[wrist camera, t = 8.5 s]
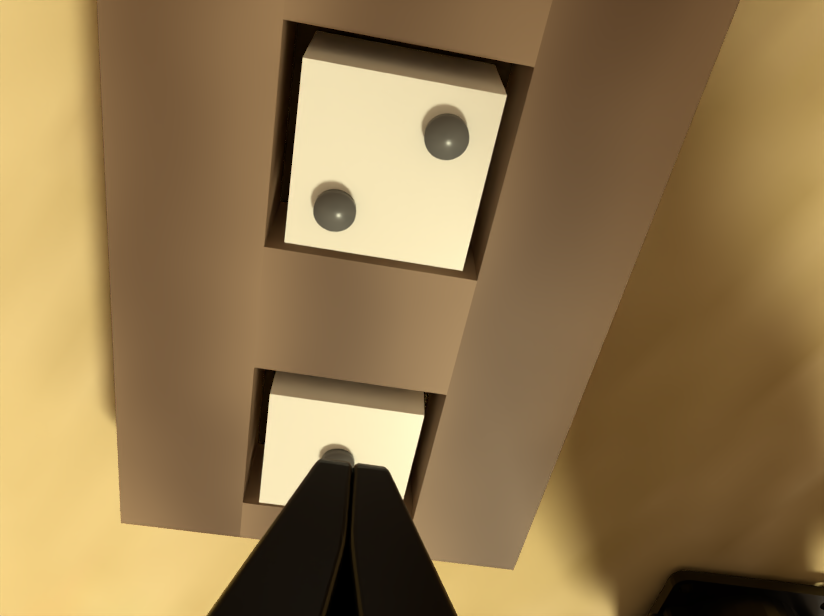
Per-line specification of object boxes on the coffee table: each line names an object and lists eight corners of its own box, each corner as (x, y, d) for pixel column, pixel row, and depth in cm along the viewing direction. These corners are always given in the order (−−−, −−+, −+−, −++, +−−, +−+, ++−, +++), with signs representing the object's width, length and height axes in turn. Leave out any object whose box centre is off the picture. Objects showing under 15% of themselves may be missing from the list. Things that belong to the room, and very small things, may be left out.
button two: (494, 64, 16) (508, 98, 14) (456, 224, 18) (463, 275, 16) (316, 30, 16) (301, 59, 14) (298, 197, 18) (282, 246, 16)
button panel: (891, -561, 12) (998, -652, 9) (504, 508, 25) (513, 570, 23) (125, -785, 10) (52, -946, 8) (146, 462, 24) (121, 522, 22)
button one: (423, 360, 21) (424, 420, 19) (399, 460, 23) (398, 525, 21) (283, 339, 20) (268, 399, 18) (272, 443, 23) (257, 507, 20)
